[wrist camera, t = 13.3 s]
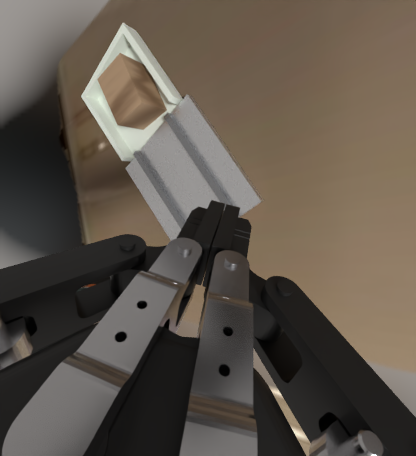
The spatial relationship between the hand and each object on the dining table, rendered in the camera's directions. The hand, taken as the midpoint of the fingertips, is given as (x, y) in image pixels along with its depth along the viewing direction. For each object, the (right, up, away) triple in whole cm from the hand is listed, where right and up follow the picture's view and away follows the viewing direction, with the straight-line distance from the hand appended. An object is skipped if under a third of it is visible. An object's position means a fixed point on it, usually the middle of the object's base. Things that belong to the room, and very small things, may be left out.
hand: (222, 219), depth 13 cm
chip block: (-11, +17, +29) cm, 36 cm away
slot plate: (-4, +7, +31) cm, 32 cm away
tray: (-14, +22, +33) cm, 42 cm away
